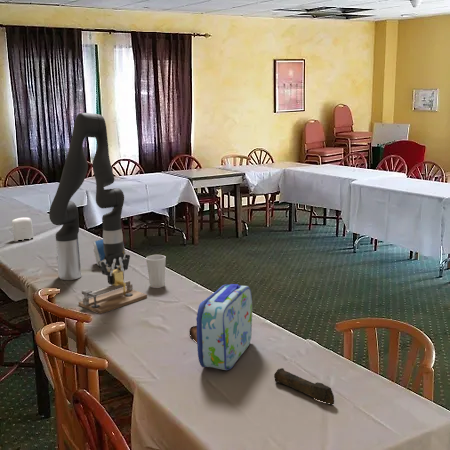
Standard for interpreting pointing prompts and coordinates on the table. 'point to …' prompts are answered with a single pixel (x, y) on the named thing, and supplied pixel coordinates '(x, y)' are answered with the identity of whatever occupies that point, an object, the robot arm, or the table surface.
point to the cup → (156, 270)
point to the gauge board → (110, 298)
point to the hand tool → (305, 386)
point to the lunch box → (224, 326)
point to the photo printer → (22, 228)
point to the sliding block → (118, 279)
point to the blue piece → (100, 251)
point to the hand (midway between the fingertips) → (116, 282)
